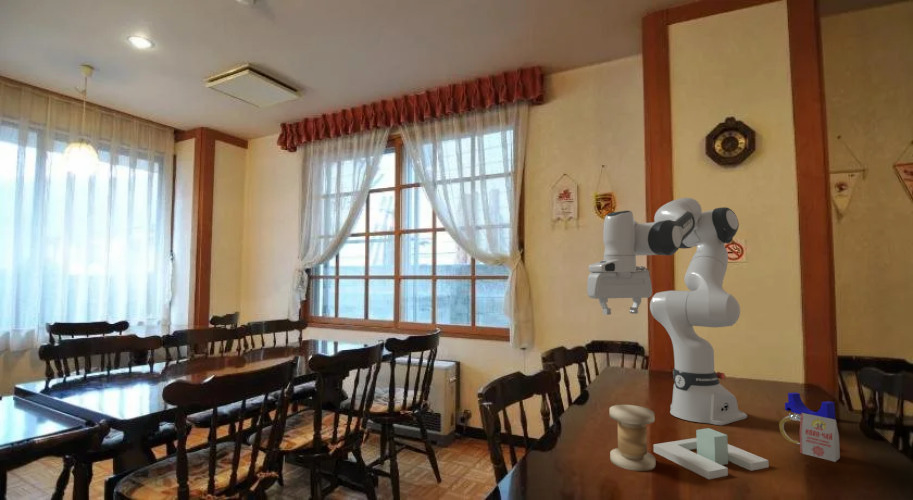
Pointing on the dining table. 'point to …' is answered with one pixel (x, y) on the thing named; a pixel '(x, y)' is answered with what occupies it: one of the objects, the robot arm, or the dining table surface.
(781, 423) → the ring
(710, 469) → the u-shaped core
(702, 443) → the pale green block
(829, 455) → the tea bag
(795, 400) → the cable clip
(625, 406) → the bobbin
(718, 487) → the dining table surface
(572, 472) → the dining table surface
